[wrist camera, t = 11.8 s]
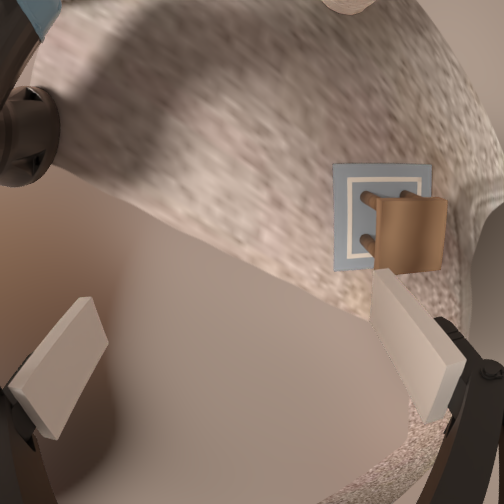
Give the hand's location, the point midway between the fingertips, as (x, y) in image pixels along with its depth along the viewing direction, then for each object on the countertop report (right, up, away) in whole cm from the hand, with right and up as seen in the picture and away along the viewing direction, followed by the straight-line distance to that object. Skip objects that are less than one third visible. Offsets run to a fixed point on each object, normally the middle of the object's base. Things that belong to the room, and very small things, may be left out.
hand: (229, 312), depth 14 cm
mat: (+18, +7, +25) cm, 32 cm away
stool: (+18, +7, +25) cm, 32 cm away
